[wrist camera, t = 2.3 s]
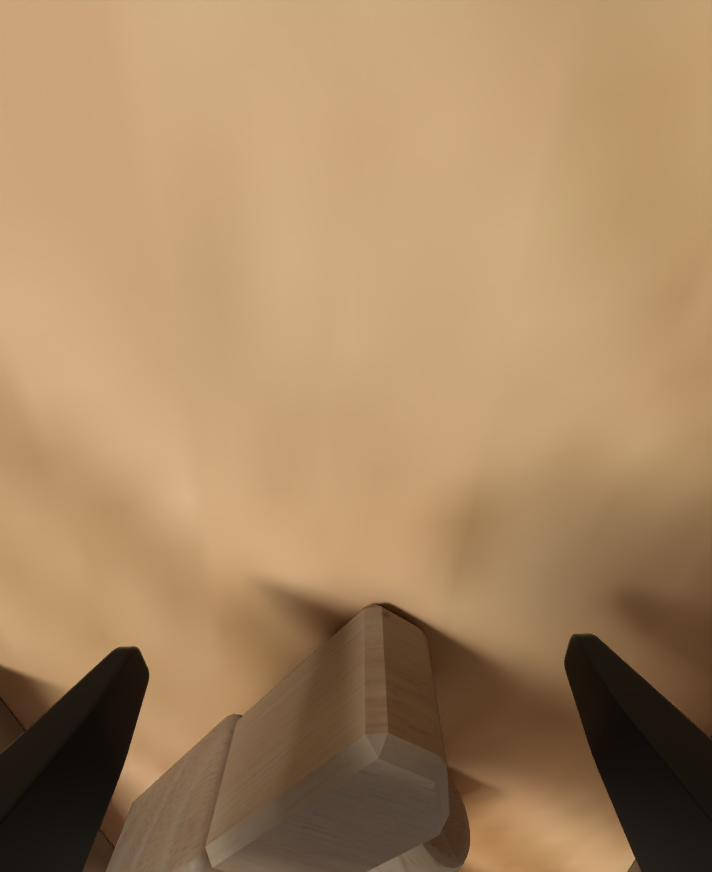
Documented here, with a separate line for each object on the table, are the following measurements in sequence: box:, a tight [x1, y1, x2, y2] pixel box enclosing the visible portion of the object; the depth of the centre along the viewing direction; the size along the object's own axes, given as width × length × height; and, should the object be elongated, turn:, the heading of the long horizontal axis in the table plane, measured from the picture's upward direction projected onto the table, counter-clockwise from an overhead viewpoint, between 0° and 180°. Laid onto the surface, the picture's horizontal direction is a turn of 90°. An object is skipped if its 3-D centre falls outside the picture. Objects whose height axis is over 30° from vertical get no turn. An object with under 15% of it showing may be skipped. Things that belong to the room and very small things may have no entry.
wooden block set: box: [106, 604, 470, 872], centre depth 16 cm, size 17×6×18 cm
